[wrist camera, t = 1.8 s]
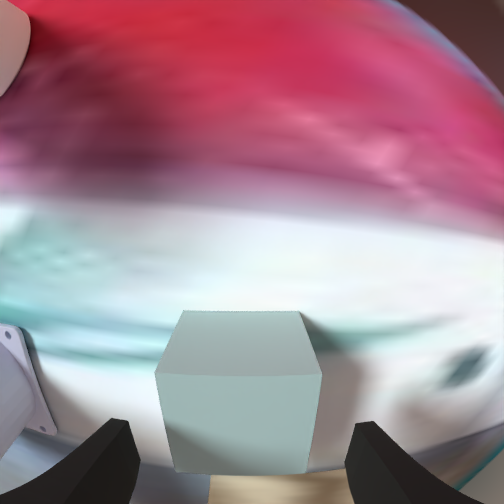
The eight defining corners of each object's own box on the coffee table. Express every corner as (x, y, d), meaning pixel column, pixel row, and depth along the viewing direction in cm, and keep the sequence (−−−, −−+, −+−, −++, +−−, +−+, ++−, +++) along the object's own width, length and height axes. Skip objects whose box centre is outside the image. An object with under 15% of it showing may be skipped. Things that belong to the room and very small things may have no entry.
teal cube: (192, 398, 15) (175, 472, 10) (183, 309, 14) (154, 372, 9) (291, 399, 15) (305, 473, 10) (298, 310, 14) (322, 373, 9)
